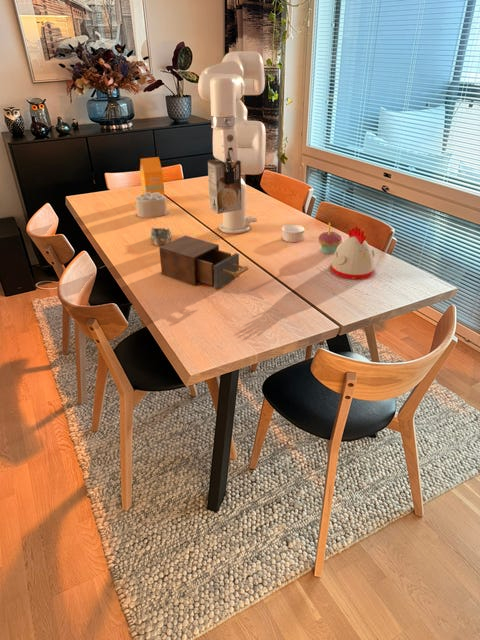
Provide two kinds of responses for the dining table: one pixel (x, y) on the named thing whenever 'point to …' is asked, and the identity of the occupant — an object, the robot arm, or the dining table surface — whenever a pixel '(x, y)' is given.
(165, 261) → the cabinet
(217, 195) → the coffee box
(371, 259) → the kitchen timer
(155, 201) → the lumpy-topped squat cylinder
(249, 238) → the dining table surface
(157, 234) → the egg carton
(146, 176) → the orange juice
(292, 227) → the ramekin
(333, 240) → the cupcake
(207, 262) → the drawer
